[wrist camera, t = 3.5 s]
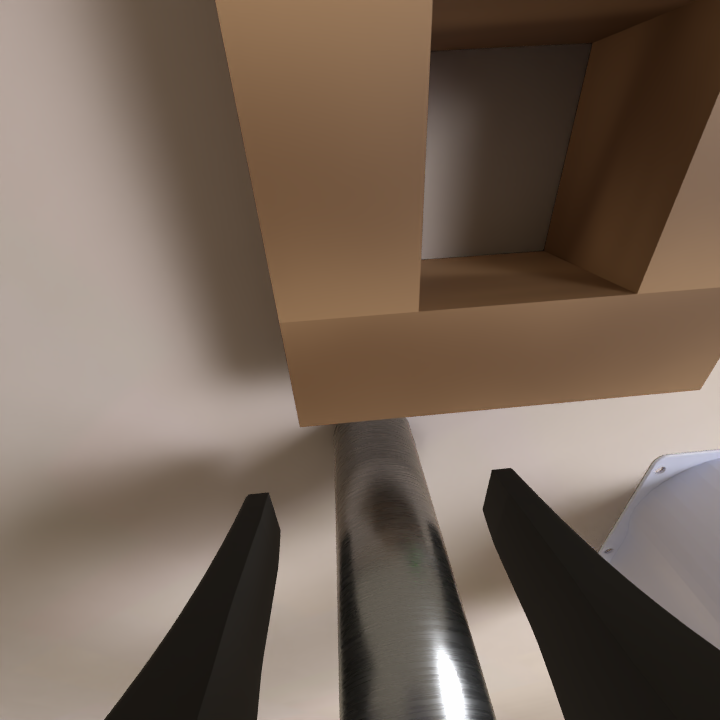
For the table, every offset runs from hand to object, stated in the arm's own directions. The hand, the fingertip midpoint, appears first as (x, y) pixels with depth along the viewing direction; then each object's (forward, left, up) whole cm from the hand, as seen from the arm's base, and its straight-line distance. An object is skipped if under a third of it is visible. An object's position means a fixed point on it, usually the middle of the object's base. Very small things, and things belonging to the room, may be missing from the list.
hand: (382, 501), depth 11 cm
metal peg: (0, 0, -3) cm, 3 cm away
